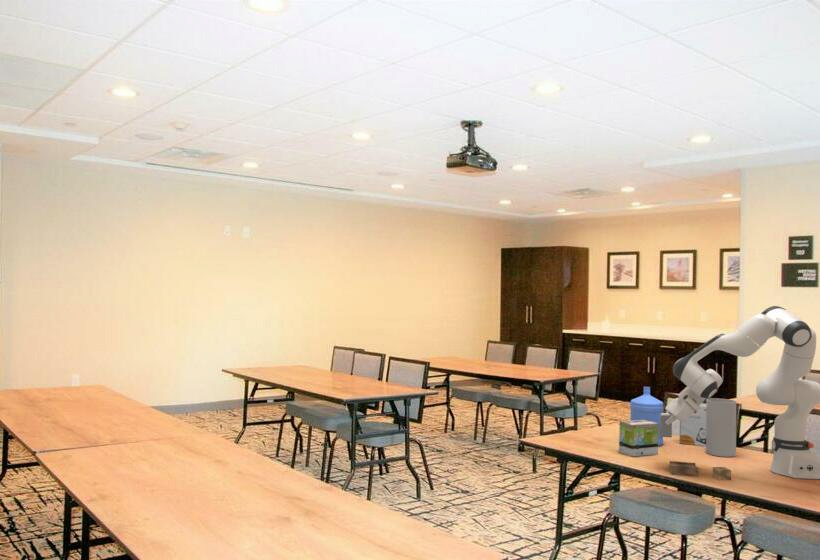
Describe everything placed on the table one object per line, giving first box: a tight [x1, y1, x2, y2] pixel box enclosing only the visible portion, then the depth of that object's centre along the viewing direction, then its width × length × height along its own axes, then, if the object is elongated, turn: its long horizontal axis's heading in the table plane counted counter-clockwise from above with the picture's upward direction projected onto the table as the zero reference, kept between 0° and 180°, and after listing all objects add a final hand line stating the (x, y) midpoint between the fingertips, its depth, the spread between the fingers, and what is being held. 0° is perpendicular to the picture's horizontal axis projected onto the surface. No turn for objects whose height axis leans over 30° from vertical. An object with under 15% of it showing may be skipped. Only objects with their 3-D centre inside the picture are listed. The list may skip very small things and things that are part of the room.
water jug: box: [629, 386, 665, 447], centre depth 324 cm, size 16×16×28 cm
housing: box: [660, 412, 673, 439], centre depth 277 cm, size 4×4×10 cm
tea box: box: [618, 420, 659, 457], centre depth 302 cm, size 15×10×15 cm
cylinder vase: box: [705, 397, 737, 458], centre depth 303 cm, size 12×12×25 cm
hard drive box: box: [679, 403, 706, 448], centre depth 324 cm, size 16×8×20 cm, turn 62°
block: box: [712, 466, 732, 481], centre depth 262 cm, size 5×5×4 cm
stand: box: [669, 460, 699, 478], centre depth 269 cm, size 10×8×4 cm
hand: (664, 422), depth 277 cm, fingers closed on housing, 5 cm apart
